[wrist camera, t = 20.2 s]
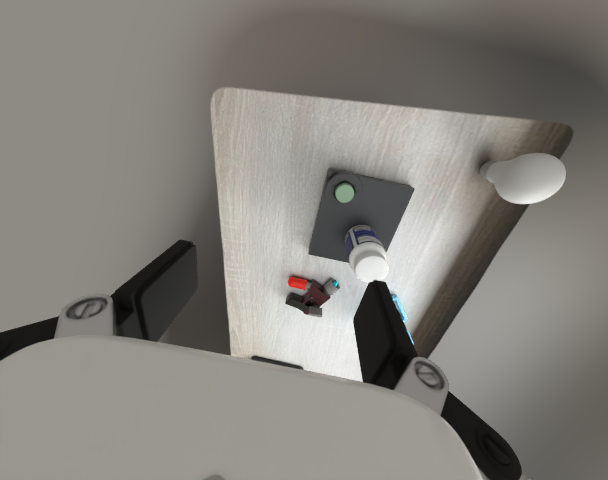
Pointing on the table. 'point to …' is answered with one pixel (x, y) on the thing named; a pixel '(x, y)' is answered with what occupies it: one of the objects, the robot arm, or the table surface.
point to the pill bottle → (366, 254)
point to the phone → (275, 362)
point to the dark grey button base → (357, 212)
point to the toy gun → (311, 295)
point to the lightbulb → (526, 177)
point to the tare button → (344, 192)
